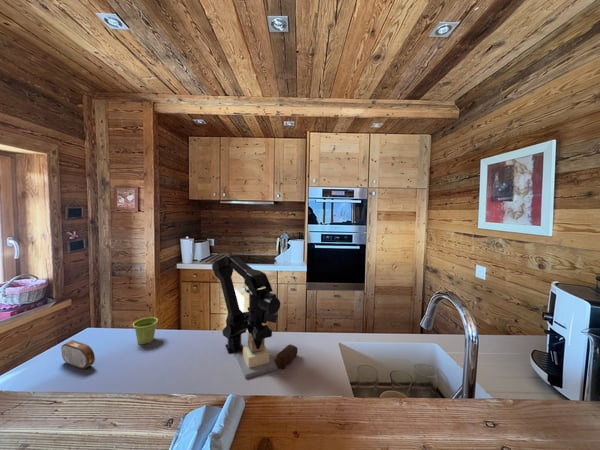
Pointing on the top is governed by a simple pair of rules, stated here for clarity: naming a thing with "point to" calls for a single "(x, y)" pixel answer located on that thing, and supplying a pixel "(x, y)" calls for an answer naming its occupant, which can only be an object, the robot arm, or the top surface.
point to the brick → (286, 356)
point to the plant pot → (145, 329)
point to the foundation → (255, 362)
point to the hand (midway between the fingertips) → (255, 345)
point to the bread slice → (78, 354)
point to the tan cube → (252, 344)
